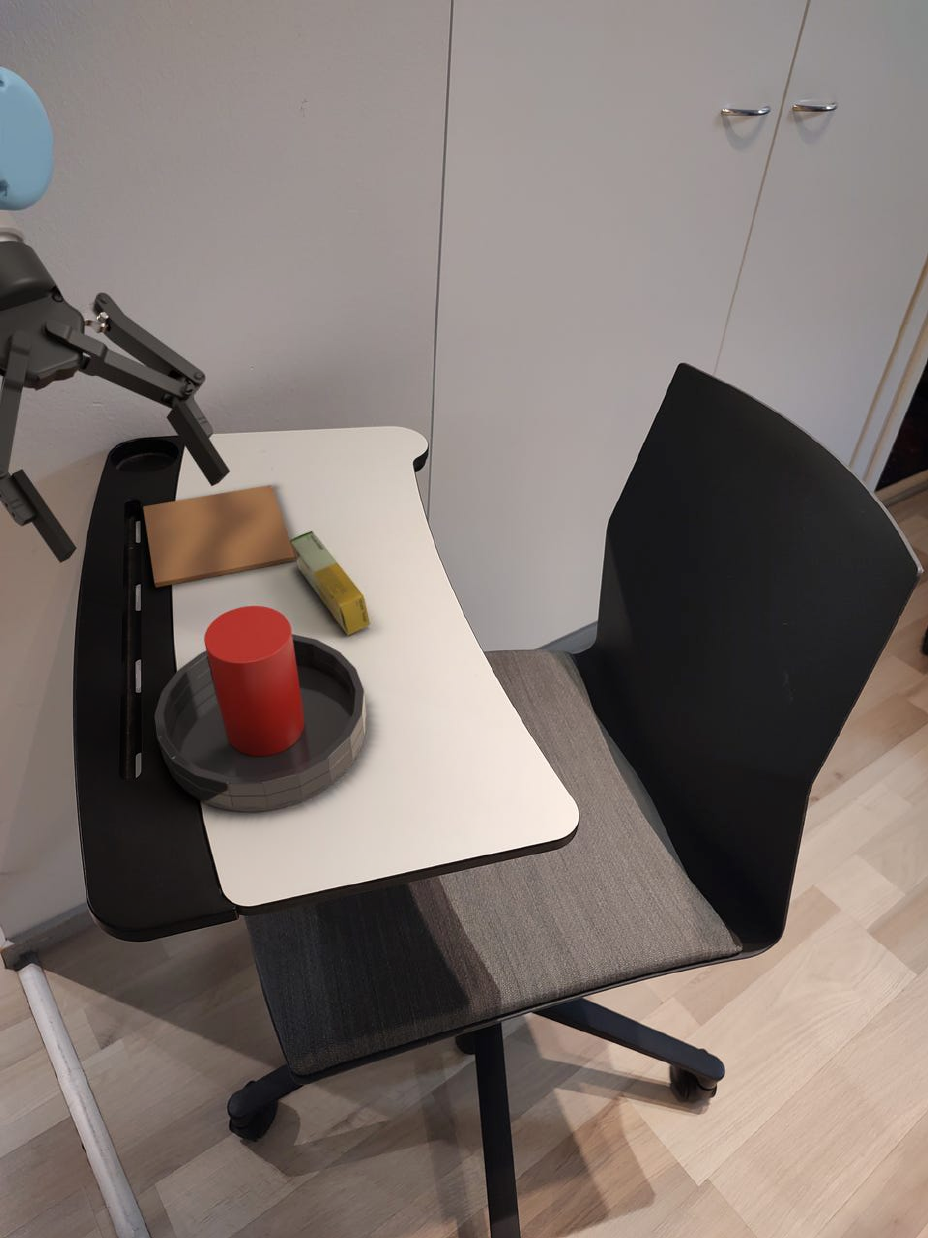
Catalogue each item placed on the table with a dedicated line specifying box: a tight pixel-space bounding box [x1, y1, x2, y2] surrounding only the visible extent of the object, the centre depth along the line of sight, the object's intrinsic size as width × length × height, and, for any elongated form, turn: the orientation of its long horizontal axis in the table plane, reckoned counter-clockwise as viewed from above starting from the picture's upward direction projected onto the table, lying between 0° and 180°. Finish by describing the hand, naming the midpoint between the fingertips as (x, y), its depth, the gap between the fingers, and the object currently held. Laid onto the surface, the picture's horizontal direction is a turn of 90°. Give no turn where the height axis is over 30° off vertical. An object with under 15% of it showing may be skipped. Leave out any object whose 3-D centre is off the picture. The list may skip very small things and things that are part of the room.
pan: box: [154, 633, 367, 813], centre depth 72 cm, size 16×16×4 cm
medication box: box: [290, 530, 371, 636], centre depth 85 cm, size 12×3×4 cm, turn 31°
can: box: [203, 605, 305, 756], centre depth 70 cm, size 6×6×10 cm
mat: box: [142, 484, 296, 588], centre depth 94 cm, size 14×14×1 cm
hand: (149, 515), depth 67 cm, fingers open, 13 cm apart
